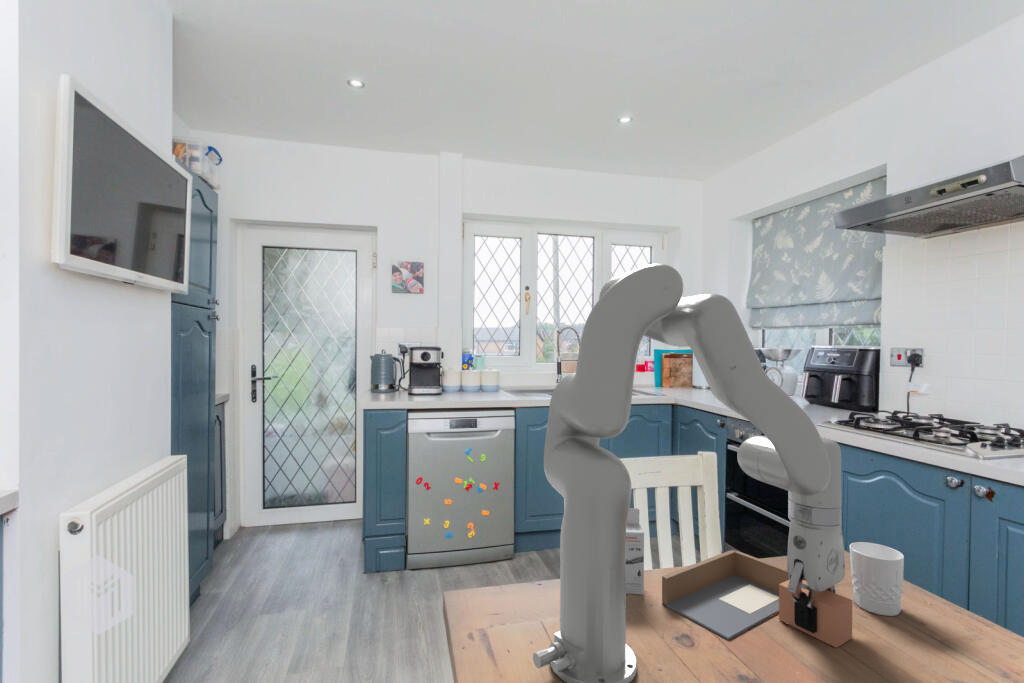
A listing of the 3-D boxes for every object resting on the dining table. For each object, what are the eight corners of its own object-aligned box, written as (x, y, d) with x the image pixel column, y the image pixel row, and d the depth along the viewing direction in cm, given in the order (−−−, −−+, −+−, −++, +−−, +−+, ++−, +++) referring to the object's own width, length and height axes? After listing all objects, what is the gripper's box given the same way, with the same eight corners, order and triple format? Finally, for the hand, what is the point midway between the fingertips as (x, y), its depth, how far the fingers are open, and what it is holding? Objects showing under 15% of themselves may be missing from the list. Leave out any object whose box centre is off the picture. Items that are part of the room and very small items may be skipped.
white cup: (915, 613, 85) (914, 555, 85) (886, 622, 82) (885, 562, 82) (867, 592, 92) (867, 539, 93) (839, 599, 89) (839, 545, 90)
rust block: (836, 647, 75) (836, 608, 75) (778, 619, 83) (778, 584, 83) (852, 638, 77) (852, 600, 78) (795, 611, 85) (795, 577, 85)
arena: (728, 640, 77) (728, 608, 77) (662, 604, 88) (662, 576, 88) (799, 601, 89) (798, 573, 89) (733, 573, 100) (733, 549, 100)
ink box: (598, 593, 92) (598, 514, 92) (596, 580, 97) (596, 506, 97) (644, 595, 91) (644, 516, 91) (640, 582, 96) (640, 507, 96)
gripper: (812, 530, 73) (813, 652, 72) (862, 510, 82) (863, 618, 82) (763, 515, 79) (763, 628, 79) (815, 498, 88) (815, 599, 88)
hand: (814, 622), depth 80 cm, fingers closed on rust block, 5 cm apart
